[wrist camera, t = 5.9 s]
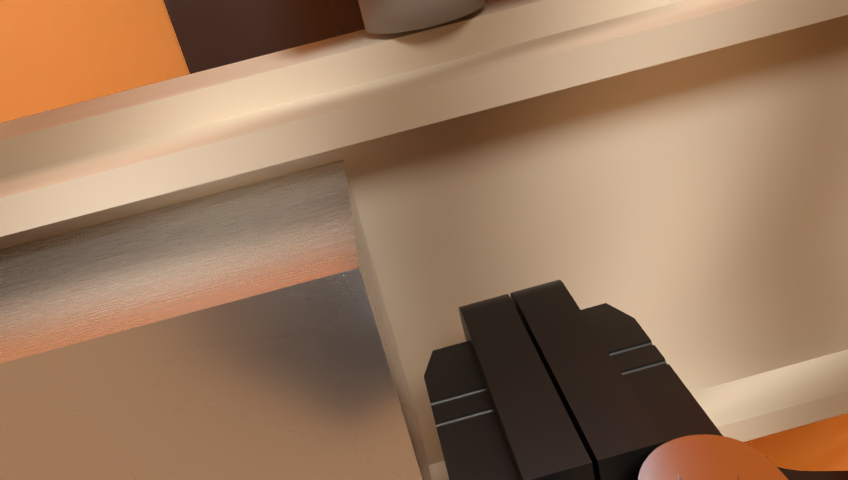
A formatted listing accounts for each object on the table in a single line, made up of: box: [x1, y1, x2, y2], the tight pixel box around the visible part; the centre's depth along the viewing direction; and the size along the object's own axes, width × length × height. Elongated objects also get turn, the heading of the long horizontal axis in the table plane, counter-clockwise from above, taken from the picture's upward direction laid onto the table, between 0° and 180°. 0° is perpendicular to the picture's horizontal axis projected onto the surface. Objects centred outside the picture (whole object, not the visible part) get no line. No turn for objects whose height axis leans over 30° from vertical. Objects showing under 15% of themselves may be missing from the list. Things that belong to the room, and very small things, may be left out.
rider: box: [0, 160, 431, 480], centre depth 11 cm, size 7×5×4 cm
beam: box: [0, 0, 848, 480], centre depth 13 cm, size 26×11×3 cm, turn 103°
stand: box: [164, 0, 365, 74], centre depth 17 cm, size 10×17×10 cm, turn 13°
